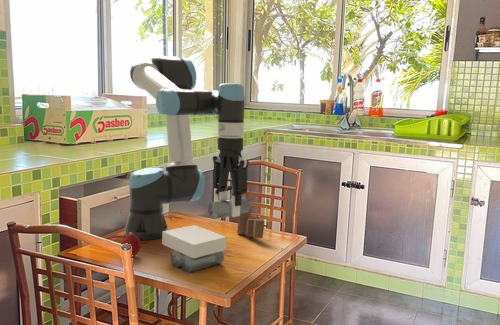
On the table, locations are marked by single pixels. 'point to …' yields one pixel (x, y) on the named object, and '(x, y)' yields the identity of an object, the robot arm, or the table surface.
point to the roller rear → (176, 258)
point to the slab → (194, 241)
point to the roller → (226, 208)
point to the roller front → (201, 261)
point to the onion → (132, 243)
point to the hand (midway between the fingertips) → (229, 214)
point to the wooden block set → (250, 225)
